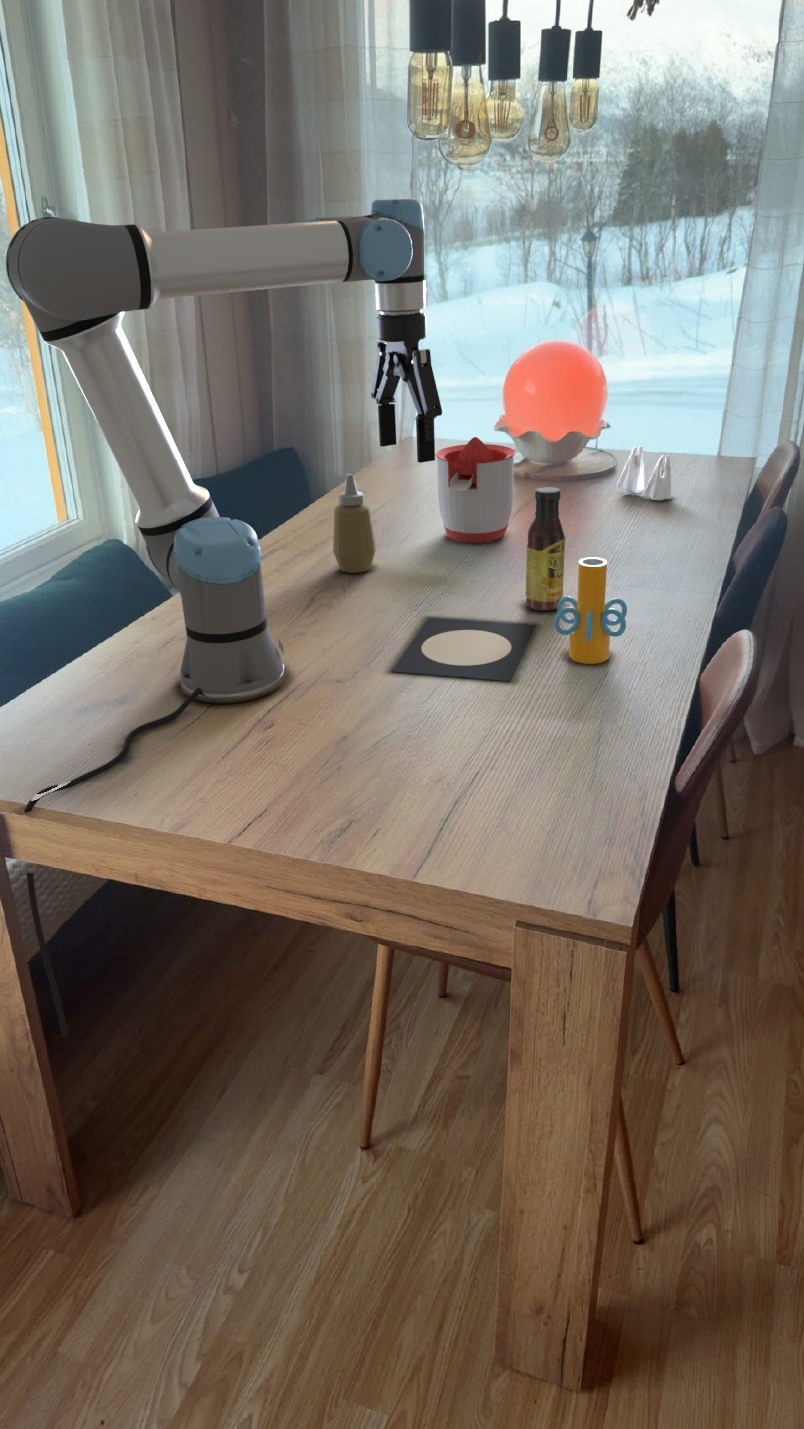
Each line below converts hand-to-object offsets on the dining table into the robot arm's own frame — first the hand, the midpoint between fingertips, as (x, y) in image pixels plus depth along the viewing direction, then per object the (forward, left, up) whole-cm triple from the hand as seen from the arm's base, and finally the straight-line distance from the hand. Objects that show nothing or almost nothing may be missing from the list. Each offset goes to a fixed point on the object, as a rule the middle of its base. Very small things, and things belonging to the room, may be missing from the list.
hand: (406, 453), depth 169 cm
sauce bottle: (+5, -22, -26) cm, 35 cm away
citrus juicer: (+41, -2, -26) cm, 49 cm away
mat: (-15, -13, -26) cm, 33 cm away
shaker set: (+76, -33, -26) cm, 87 cm away
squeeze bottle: (+18, +16, -26) cm, 36 cm away
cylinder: (-15, -32, -26) cm, 44 cm away
